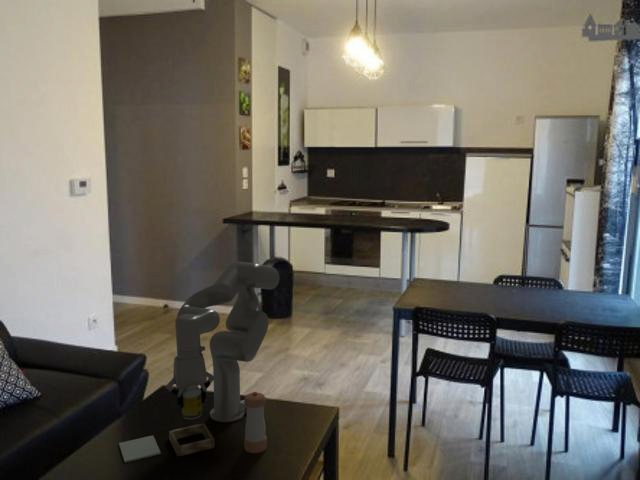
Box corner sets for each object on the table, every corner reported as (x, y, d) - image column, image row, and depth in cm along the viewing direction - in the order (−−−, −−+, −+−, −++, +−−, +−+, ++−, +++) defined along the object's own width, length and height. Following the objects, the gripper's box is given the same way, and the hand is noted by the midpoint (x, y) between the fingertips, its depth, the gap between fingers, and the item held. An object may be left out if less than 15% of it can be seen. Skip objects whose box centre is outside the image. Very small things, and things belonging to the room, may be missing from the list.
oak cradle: (204, 431, 190) (204, 423, 190) (214, 447, 180) (214, 439, 179) (169, 439, 185) (168, 430, 184) (177, 456, 174) (177, 447, 174)
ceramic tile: (153, 437, 186) (153, 435, 186) (160, 454, 175) (160, 452, 175) (119, 444, 181) (118, 443, 181) (124, 462, 170) (124, 461, 170)
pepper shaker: (248, 455, 175) (248, 398, 172) (241, 444, 181) (240, 390, 178) (270, 449, 178) (269, 394, 175) (261, 439, 185) (261, 385, 182)
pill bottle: (197, 421, 178) (195, 387, 175) (178, 419, 179) (176, 386, 177) (205, 411, 184) (203, 379, 182) (187, 409, 185) (185, 377, 183)
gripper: (211, 343, 184) (213, 393, 188) (159, 353, 177) (162, 405, 180) (218, 351, 178) (220, 402, 181) (164, 361, 170) (167, 415, 173)
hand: (191, 403), depth 181 cm, fingers closed on pill bottle, 6 cm apart
